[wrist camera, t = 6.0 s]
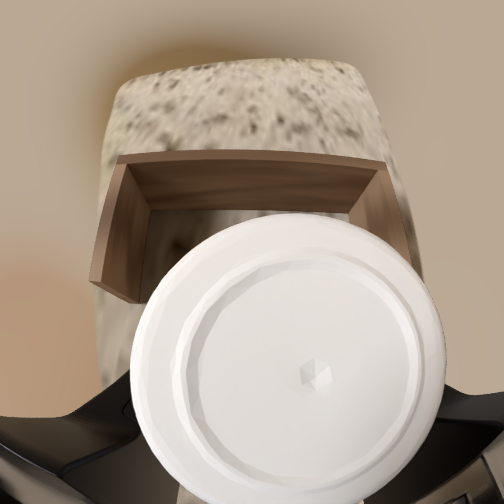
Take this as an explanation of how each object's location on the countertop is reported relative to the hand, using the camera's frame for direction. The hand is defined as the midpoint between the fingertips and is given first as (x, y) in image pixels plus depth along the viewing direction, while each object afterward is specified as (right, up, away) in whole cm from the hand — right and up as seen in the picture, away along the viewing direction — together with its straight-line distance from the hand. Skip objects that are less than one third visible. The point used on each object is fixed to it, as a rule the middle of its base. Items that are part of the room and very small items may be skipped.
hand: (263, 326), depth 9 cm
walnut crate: (0, +2, +10) cm, 11 cm away
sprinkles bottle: (0, -4, +6) cm, 7 cm away
